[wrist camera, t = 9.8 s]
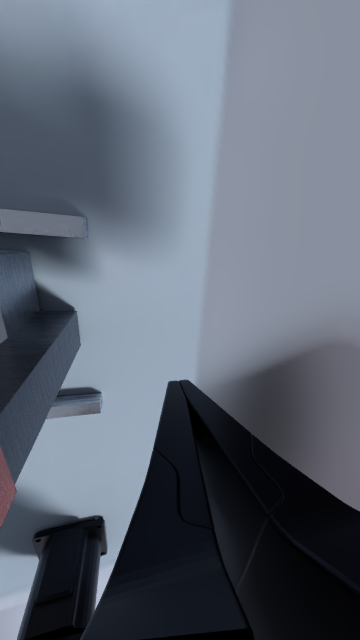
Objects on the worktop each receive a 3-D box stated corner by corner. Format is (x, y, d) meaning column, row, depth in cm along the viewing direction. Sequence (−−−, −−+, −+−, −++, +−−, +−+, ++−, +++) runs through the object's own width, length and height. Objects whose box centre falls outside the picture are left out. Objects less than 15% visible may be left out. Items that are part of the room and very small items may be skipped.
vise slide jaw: (87, 386, 15) (27, 585, 6) (22, 391, 14) (-150, 633, 5) (71, 253, 11) (-103, 305, 3) (-16, 248, 10) (-641, 302, 2)
